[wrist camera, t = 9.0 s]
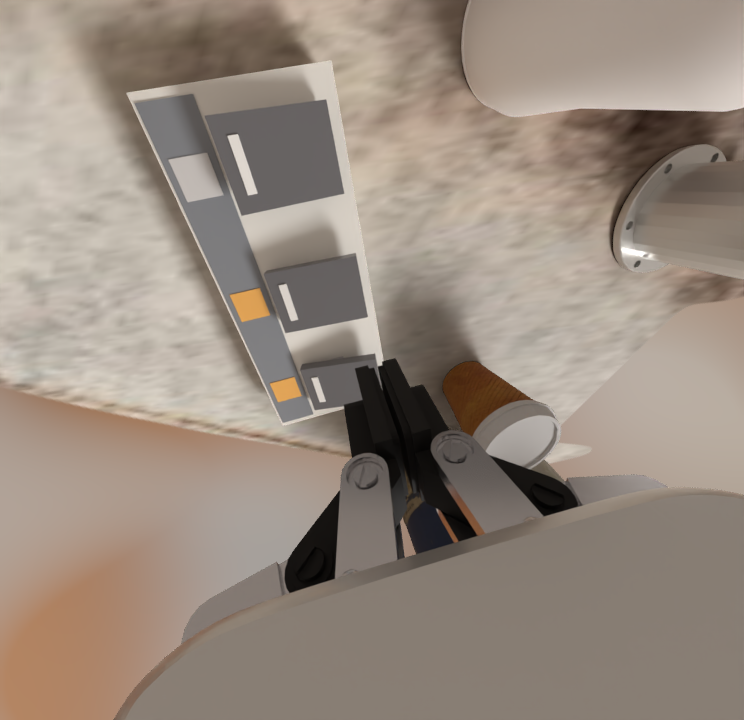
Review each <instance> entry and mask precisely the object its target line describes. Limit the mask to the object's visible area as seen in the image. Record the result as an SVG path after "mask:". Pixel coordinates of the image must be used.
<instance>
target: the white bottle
mask: <svg viewBox="0 0 744 720" xmlns="http://www.w3.org/2000/svg"><path fill="white" fill-rule="evenodd" d="M461 53H462V63H463V68H464V73H465V76H466V79H467V83H468V85H469V87H470V89H471V91H472V92H473V94H474V95H475V97H476V98H477V99H478V100H479V101H480V102H481V103H482V104H484V105H486V106H487V107H489V108H492V109H494V110H496V111H498V112H500V113H502V114H504V115H507V116H510V117H522V116H530V115H537V114H544V113H552V112H559V111H566V110H573V109H581V108H584V109H629V110H675V111H720V112H726V111H731V110H736V109H740V108H743V107H744V0H469V1H468V4H467V7H466V11H465V16H464V21H463V28H462V38H461Z"/></svg>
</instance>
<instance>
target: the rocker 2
mask: <svg viewBox="0 0 744 720" xmlns="http://www.w3.org/2000/svg"><path fill="white" fill-rule="evenodd" d="M366 365H368V367H369V368H373V367H374V369H375V372H376V374H377V377H378V380H379V383H380V386H381V381H380V376H379V371H378V365H377V360H376V355H375V353H374V354H368V355H361V356H354V357H347V358H340V359H333V360H327V361H320V362H313V363H306V364H302V366H301V369H300V372H301V374H302V377H303V380H304V382H305V385H306V388H307V391H308V393H309V396H310V399H311V401H312V404H313V407H314V410H320V409H328V408H335V407H343V406H344V404H348V403H352V402H356V401H360V400H362V396H361V392H360V388H359V384H358V380H357V375H356V371H355V368H358V367H362V366H366ZM381 388H382V386H381Z"/></svg>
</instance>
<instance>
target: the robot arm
mask: <svg viewBox="0 0 744 720" xmlns="http://www.w3.org/2000/svg"><path fill="white" fill-rule="evenodd" d="M613 251H614V255H615V258H616V260H617V261H618V263H619V264H620V265H621V266H622V267H623V268H625V269H627V270H630V271H634V272H639V273H646V272H651V271H655V270H658V269H660V268H662V267H665V266H666V265H668V264H672V265H676V266H681V267H686V268H691V269H696V270H700V271H705V272H710V273H715V274H719V275H724V276H729V277H734V278H739V279H743V280H744V160H743V161H726V158H725V156H724V155H723V153H722V151H721V150H720V149H718V148H717V147H715V146H712V145H708V144H701V145H691V146H686V147H682V148H680V149H678V150H676V151H673V152H671V153H670V154H668V155H667V156H665V157H664V158H662V159H661V160H660V161H658V162H657V163H656V164H655V165H654V166H653V167H652V168H650V169H649V170H648V172H647V173H646V174H645V175H644V176H643V177H642V178H641V179H640V180H639V182H638V183H637V184H636V186H635V187H634V189H633V190H632V191H631V193H630V194H629V196H628V198H627V200H626V201H625V203H624V205H623V207H622V209H621V212H620V214H619V216H618V219H617V222H616V226H615V229H614V236H613ZM355 371H356V375H357V380H358V384H359V388H360V392H361V396H362V400H360V401H356V402H352V403H348V404H344V410H345V416H346V423H347V429H348V435H349V441H350V448H351V454H352V458H351V459H350V460H349V461H348V462H347V463H346V464H345V466H344V468H343V469H342V474H341V485H340V491H339V492H338V493H337V495H336V496H335V497H334V498H333V500H332V501H331V502H330V504H329V505H328V507H327V508H326V509H325V510H324V512H323V513H322V514H321V516H320V517H319V518H318V519H317V521H316V522H315V523H314V525H313V526H312V527H311V528H310V530H309V531H308V532H307V534H306V535H305V536H304V538H303V539H302V540H301V542H300V543H299V544H298V545H297V547H296V548H295V549H294V551H293V552H292V554H291V556H290V557H289V559H288V560H286V561H284V562H283V563H281V564H278V563H277V562H276V563H274V564H272V565H270V566H268V567H266V568H265V569H263V570H261V571H260V572H257V573H256V574H254V575H252V576H250V577H248V578H246V579H245V580H243V581H241V582H239V583H237V584H236V585H234V586H232V587H230V588H229V589H227V590H225V591H223V592H221V593H219V594H217V595H216V596H214V597H212V598H210V599H209V600H207V601H206V602H205V603H203V604H202V605H201V606H199V608H198V609H197V610H196V611H195V613H194V614H193V615H192V616H191V618H190V620H189V622H188V624H187V626H186V627H185V630H184V634H183V638H182V643H181V645H180V646H179V647H177V648H176V649H175V650H174V651H173V652H171V653H170V654H169V655H168V656H166V657H165V658H164V659H163V660H162V661H161V662H160V663H159V664H158V665H156V666H155V667H154V668H153V669H152V670H151V671H150V672H149V673H148V674H147V675H146V676H145V677H144V678H143V679H142V680H141V682H140V683H139V684H138V685H137V686H136V687H135V688H134V690H133V691H132V692H131V693H130V695H129V696H128V697H127V699H126V700H125V702H124V704H123V705H122V707H121V708H120V710H119V711H118V713H117V715H116V716H115V718H114V720H744V495H743V494H738V493H733V492H728V491H722V490H714V489H704V488H689V487H671V488H668V487H667V486H666V485H664V484H663V483H661V482H659V481H657V480H656V479H653V478H650V477H647V476H644V475H613V476H595V477H576V478H567V480H566V481H563V482H560V481H559V480H557V479H555V478H552V477H550V476H547V475H545V474H542V473H539V472H536V471H533V470H531V469H528V468H525V467H522V466H519V465H516V464H514V463H511V462H508V461H505V460H502V459H500V458H497V457H494V456H491V455H488V453H487V452H486V451H485V450H484V449H483V448H482V447H481V446H480V444H479V443H478V442H477V441H476V440H475V439H474V438H473V437H472V436H470V435H469V434H467V433H465V432H462V431H457V430H449V429H448V427H447V425H446V424H445V422H444V420H443V418H442V417H441V415H440V413H439V411H438V410H437V408H436V406H435V405H434V403H433V401H432V399H431V398H430V396H429V394H428V392H427V391H426V389H425V387H424V386H423V385H419V386H415V387H411V388H410V386H409V384H408V382H407V380H406V378H405V376H404V374H403V372H402V370H401V368H400V366H399V364H398V362H397V360H396V359H395V358H394V359H390V360H386V361H382V365H381V366H378V371H379V376H380V381H381V386H382V388H381V386H380V383H379V380H378V377H377V374H376V372H375V369H374V367H373V368H369V367H368V365H366V366H362V367H358V368H355ZM404 468H405V470H404ZM405 471H406V474H407V477H408V480H409V483H410V486H411V489H412V492H413V494H414V493H418V492H419V495H420V498H421V501H425V502H426V504H428V505H430V506H432V507H434V508H436V510H437V513H438V515H439V517H440V519H441V520H442V522H443V524H444V526H445V527H446V529H447V531H448V533H449V535H450V536H451V538H452V540H453V542H454V543H453V544H449V545H446V546H443V547H439V548H436V549H432V550H429V551H426V552H422V553H419V554H416V555H412V556H409V557H406V558H405V557H404V550H403V541H402V533H401V525H400V521H401V519H402V517H403V516H404V514H405V512H406V510H407V504H406V498H405V496H407V495H409V493H408V487H407V481H406V476H405Z"/></svg>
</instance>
